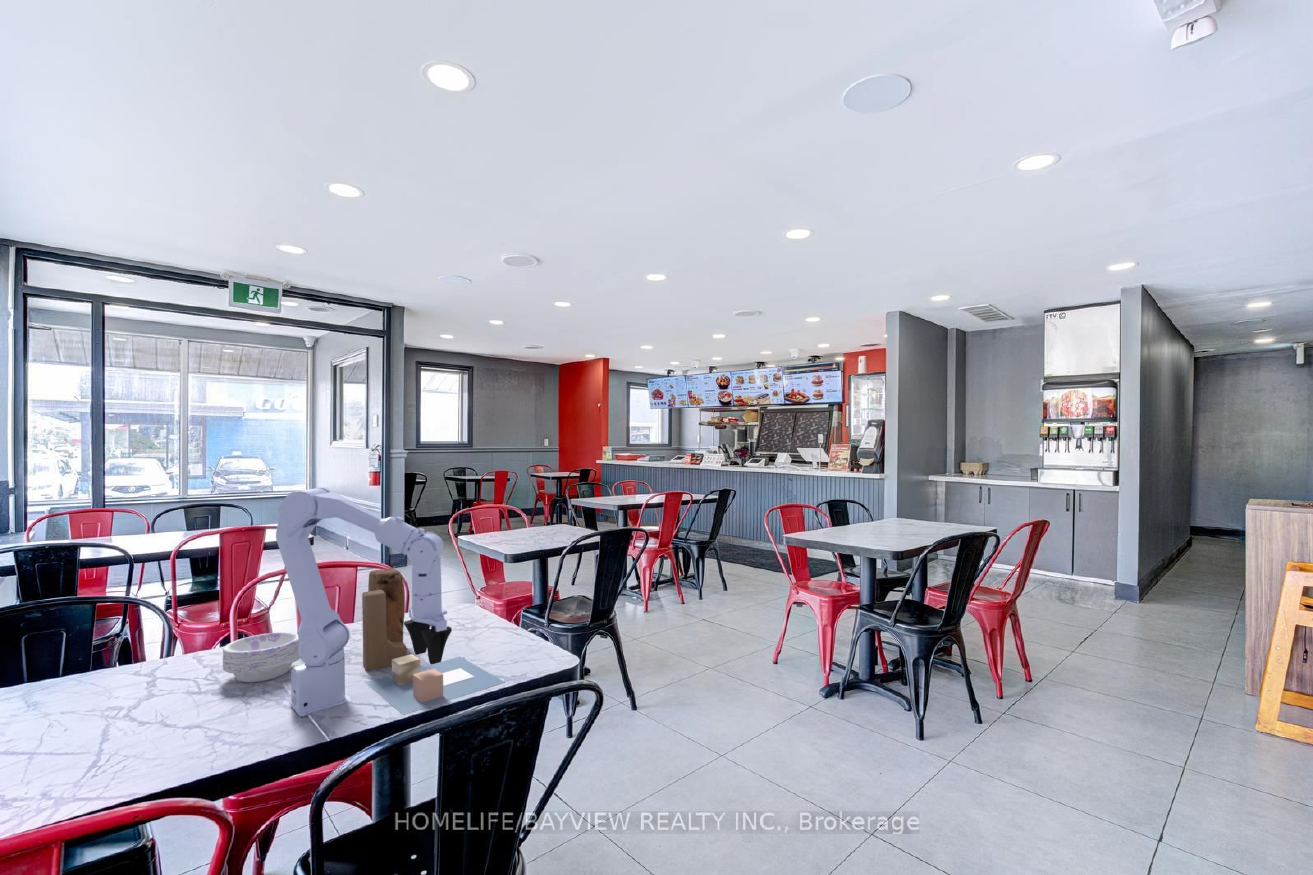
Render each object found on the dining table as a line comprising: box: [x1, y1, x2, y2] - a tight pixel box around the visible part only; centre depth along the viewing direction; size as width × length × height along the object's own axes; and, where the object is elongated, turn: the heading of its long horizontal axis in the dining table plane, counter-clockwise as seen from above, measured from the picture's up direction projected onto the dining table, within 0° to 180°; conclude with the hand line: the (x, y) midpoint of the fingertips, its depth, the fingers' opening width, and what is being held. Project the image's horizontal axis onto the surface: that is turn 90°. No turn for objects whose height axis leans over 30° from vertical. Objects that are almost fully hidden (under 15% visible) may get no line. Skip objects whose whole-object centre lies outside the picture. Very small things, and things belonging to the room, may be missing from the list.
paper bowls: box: [222, 631, 301, 683], centre depth 140 cm, size 15×15×8 cm
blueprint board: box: [365, 656, 506, 716], centre depth 133 cm, size 22×22×1 cm
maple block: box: [391, 653, 421, 685], centre depth 135 cm, size 4×4×4 cm
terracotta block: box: [413, 669, 443, 703], centre depth 126 cm, size 4×4×4 cm
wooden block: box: [361, 590, 408, 672], centre depth 144 cm, size 9×4×18 cm, turn 124°
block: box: [367, 568, 406, 643], centre depth 157 cm, size 11×8×20 cm
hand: (427, 658), depth 126 cm, fingers open, 7 cm apart
